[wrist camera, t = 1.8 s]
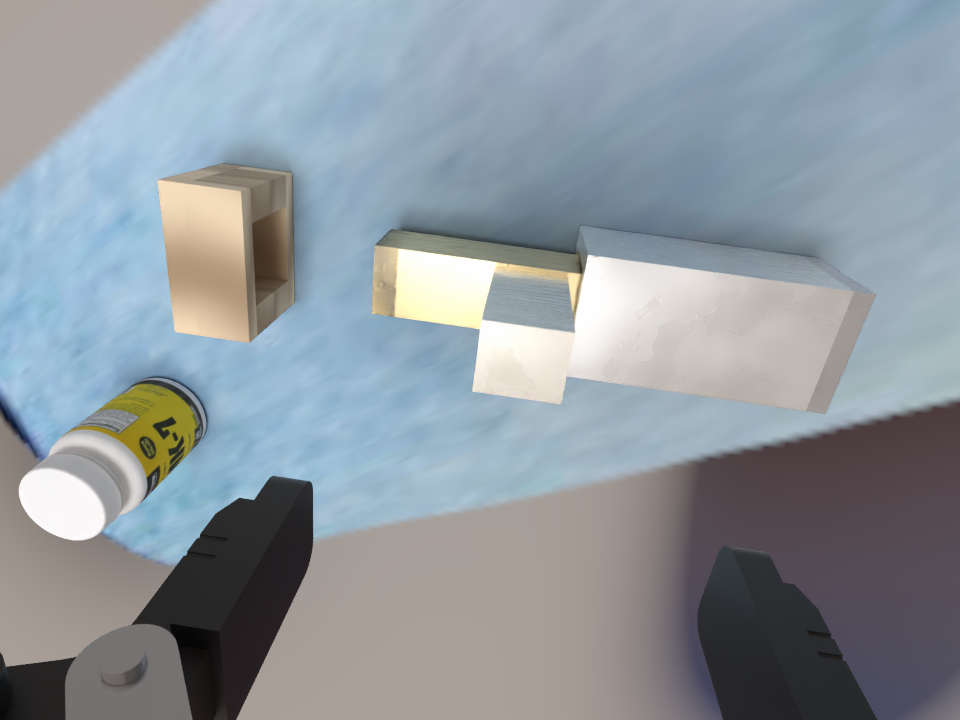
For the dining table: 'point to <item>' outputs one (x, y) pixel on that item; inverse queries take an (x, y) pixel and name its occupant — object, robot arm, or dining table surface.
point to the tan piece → (487, 304)
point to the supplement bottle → (113, 459)
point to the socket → (228, 249)
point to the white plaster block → (713, 319)
